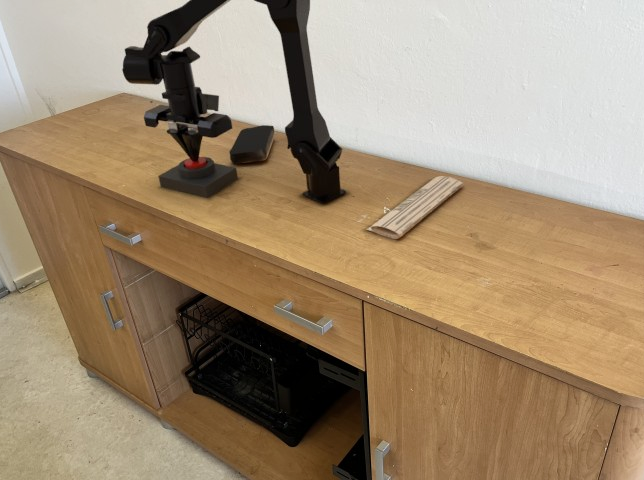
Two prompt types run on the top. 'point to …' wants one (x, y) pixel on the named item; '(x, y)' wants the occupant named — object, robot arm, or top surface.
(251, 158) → the black sponge
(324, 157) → the robot arm
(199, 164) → the power button
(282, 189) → the top surface
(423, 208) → the newspaper
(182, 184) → the grey button base
